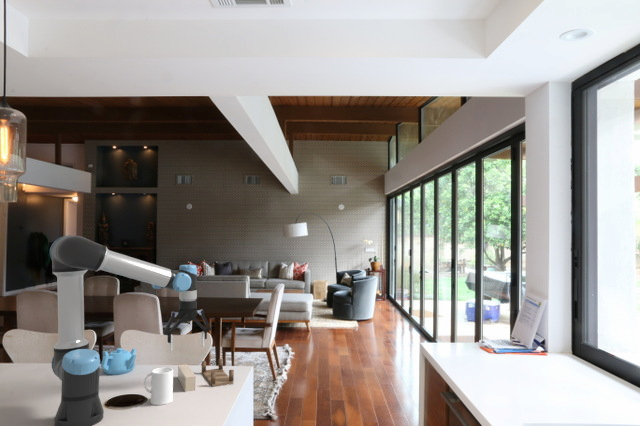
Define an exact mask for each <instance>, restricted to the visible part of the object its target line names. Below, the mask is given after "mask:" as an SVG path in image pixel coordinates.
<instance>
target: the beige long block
mask: <svg viewBox="0 0 640 426" xmlns="http://www.w3.org/2000/svg"><path fill="white" fill-rule="evenodd" d="M177 366H178V367H177V379H178V381H179V383H180V384H181V386H182V388H183V390H184V391H185V392H186V393H187V392H192V391H193V392H194V391H196V381H197V380H196V375H195V373H194V372H193V371H192V369H191V367H190V366H189V365H188V364H187V363H186V364H178V365H177Z"/></svg>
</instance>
